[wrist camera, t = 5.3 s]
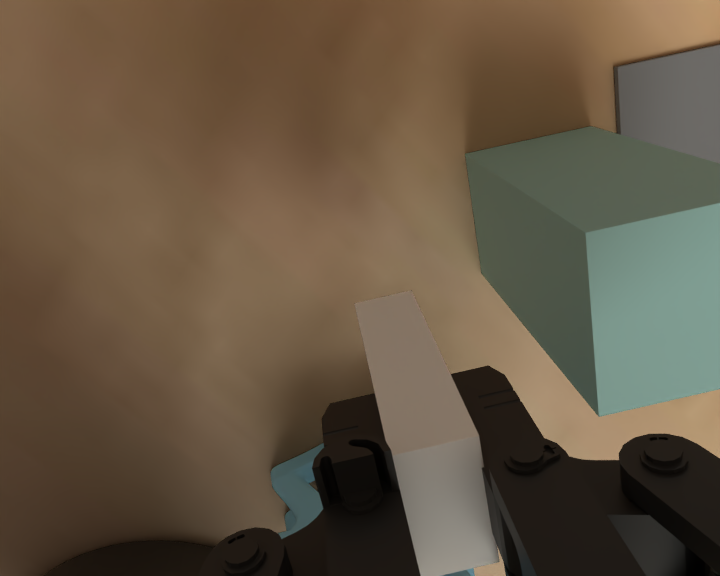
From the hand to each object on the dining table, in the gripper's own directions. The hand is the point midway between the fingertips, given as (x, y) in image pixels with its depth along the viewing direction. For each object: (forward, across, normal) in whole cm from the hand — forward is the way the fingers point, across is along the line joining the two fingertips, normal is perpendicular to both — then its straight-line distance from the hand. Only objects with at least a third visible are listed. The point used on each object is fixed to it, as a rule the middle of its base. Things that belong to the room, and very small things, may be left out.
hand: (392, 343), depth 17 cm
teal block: (+10, +7, 0) cm, 12 cm away
